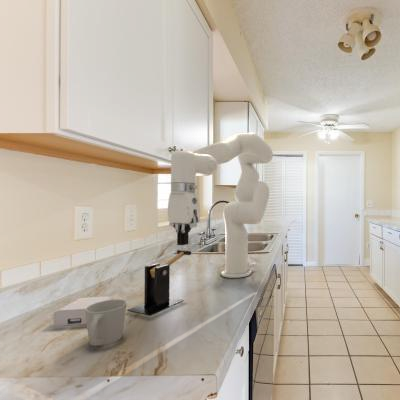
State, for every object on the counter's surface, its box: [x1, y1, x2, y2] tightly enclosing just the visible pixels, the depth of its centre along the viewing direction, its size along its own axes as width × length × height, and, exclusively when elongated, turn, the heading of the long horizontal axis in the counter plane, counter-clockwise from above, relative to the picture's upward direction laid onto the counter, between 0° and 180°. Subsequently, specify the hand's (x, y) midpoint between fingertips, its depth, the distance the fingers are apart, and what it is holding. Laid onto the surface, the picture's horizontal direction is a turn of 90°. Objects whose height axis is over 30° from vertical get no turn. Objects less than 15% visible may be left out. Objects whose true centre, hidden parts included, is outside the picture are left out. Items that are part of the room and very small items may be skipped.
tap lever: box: [150, 249, 192, 278], centre depth 85 cm, size 13×5×2 cm, turn 158°
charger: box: [53, 295, 114, 327], centre depth 75 cm, size 5×9×15 cm
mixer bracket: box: [126, 262, 185, 317], centre depth 80 cm, size 12×9×13 cm
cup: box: [85, 298, 127, 347], centre depth 60 cm, size 8×10×8 cm
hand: (182, 244), depth 90 cm, fingers closed
